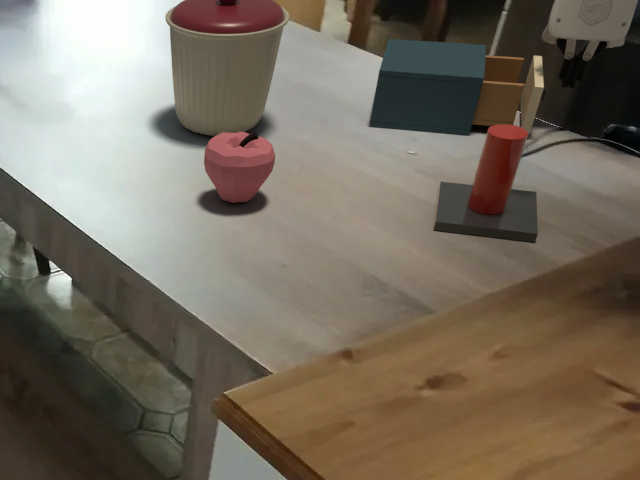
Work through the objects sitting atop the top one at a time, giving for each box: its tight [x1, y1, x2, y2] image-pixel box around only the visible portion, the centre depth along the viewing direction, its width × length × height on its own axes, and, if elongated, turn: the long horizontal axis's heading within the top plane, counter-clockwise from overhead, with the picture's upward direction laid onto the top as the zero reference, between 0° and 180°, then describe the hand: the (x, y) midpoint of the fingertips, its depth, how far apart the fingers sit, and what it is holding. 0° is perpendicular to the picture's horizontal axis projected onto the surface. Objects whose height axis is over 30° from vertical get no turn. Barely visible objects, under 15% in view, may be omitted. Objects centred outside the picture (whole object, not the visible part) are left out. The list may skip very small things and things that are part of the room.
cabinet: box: [368, 38, 487, 136], centre depth 144 cm, size 15×15×9 cm
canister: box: [164, 0, 290, 137], centre depth 141 cm, size 18×18×21 cm
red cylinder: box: [468, 124, 529, 214], centre depth 117 cm, size 5×5×10 cm
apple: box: [203, 130, 276, 204], centre depth 125 cm, size 10×9×10 cm
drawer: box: [472, 54, 547, 134], centre depth 141 cm, size 15×13×7 cm
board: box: [433, 181, 539, 243], centre depth 121 cm, size 12×12×1 cm
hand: (567, 84), depth 137 cm, fingers closed
